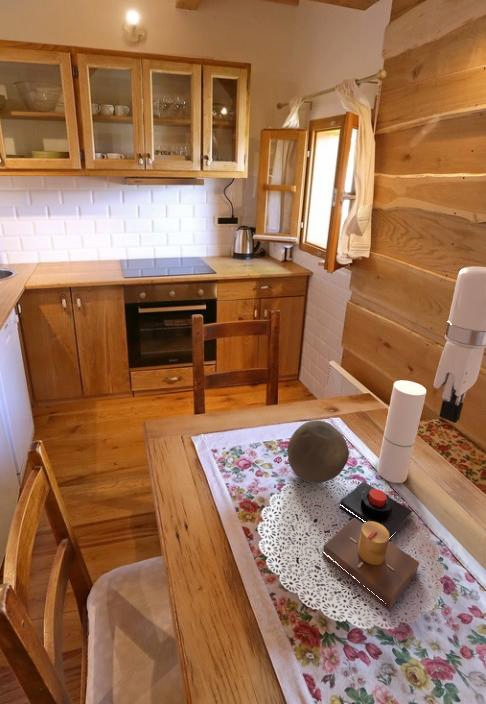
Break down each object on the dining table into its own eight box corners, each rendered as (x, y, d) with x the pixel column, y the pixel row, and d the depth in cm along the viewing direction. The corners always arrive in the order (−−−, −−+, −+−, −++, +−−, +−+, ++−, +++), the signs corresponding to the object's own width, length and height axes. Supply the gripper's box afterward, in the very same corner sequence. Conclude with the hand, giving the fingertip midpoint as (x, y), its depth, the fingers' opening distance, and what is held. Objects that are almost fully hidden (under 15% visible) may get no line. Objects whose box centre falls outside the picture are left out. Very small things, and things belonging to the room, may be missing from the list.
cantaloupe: (296, 500, 95) (302, 447, 90) (278, 460, 108) (283, 412, 103) (352, 495, 97) (362, 442, 92) (328, 456, 110) (335, 408, 105)
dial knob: (365, 538, 82) (370, 515, 80) (389, 554, 78) (394, 531, 76) (352, 552, 79) (356, 529, 77) (376, 570, 75) (381, 546, 73)
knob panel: (416, 573, 78) (419, 561, 77) (388, 610, 71) (391, 598, 70) (352, 527, 88) (354, 516, 87) (322, 556, 81) (323, 544, 80)
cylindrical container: (408, 470, 106) (428, 385, 98) (404, 487, 100) (424, 398, 92) (380, 460, 109) (396, 377, 101) (374, 475, 104) (391, 389, 95)
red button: (388, 501, 91) (389, 495, 90) (380, 509, 88) (381, 503, 88) (373, 492, 93) (374, 486, 93) (365, 500, 91) (366, 493, 90)
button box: (410, 518, 91) (413, 504, 90) (388, 542, 85) (391, 528, 83) (362, 488, 99) (364, 475, 98) (338, 508, 93) (341, 494, 92)
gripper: (462, 320, 83) (444, 399, 89) (431, 337, 74) (413, 424, 80) (504, 330, 78) (482, 413, 84) (477, 350, 68) (454, 442, 74)
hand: (449, 418), depth 82 cm, fingers closed
